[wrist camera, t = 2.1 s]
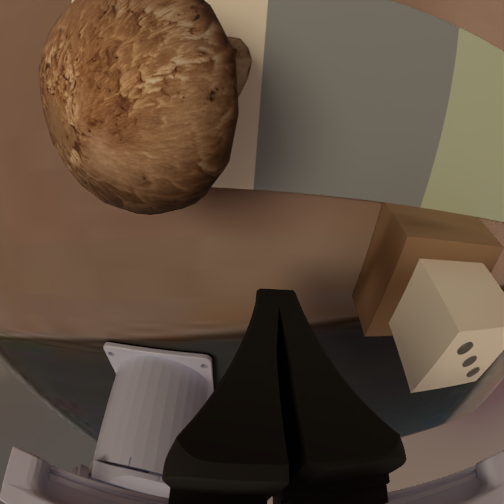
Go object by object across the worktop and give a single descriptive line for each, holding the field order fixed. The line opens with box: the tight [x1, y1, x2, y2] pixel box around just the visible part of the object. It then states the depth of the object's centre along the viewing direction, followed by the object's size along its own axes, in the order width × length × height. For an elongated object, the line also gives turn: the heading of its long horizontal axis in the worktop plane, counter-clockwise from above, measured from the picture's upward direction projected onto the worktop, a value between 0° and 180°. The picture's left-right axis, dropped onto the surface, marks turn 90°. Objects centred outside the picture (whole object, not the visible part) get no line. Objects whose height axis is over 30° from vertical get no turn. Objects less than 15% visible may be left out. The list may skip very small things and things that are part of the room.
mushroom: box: [39, 0, 252, 215], centre depth 8 cm, size 8×8×6 cm
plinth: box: [352, 202, 504, 336], centre depth 14 cm, size 6×6×3 cm
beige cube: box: [389, 259, 504, 393], centre depth 11 cm, size 4×4×4 cm
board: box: [72, 0, 504, 222], centre depth 11 cm, size 9×24×1 cm, turn 86°
